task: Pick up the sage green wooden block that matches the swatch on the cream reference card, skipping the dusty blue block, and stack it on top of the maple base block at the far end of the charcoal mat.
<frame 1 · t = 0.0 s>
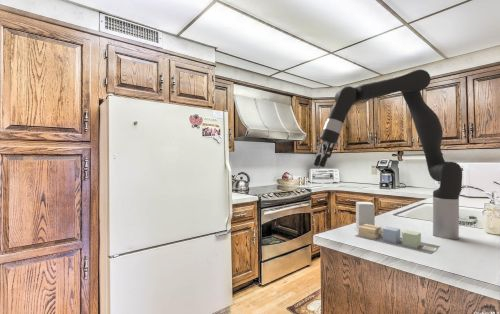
hand: (318, 166, 115), 31 cm above the counter, tool tilted 20°, fingers open, 8 cm apart
supplement box: (364, 228, 131), on the counter
mat: (394, 241, 111), on the counter
reference card: (429, 249, 101), resting on mat
sage block: (411, 245, 105), resting on mat
blue block: (391, 240, 111), resting on mat
maple base: (369, 235, 118), resting on mat
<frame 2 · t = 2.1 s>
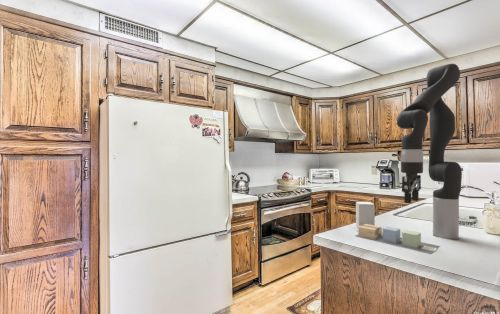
hand: (411, 201, 105), 18 cm above the counter, tool pointing down, fingers open, 8 cm apart
nothing on the counter moved.
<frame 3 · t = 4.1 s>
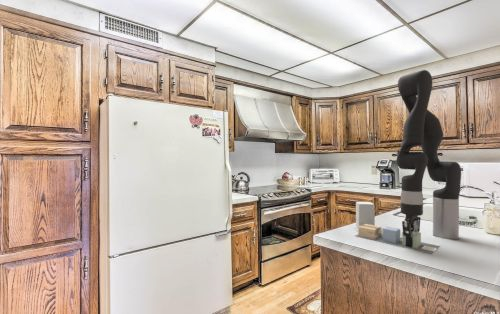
hand: (411, 244, 105), 1 cm above the counter, tool pointing down, fingers closed on sage block, 5 cm apart
sage block: (411, 245, 105), resting on mat, touching gripper
everything else where it was.
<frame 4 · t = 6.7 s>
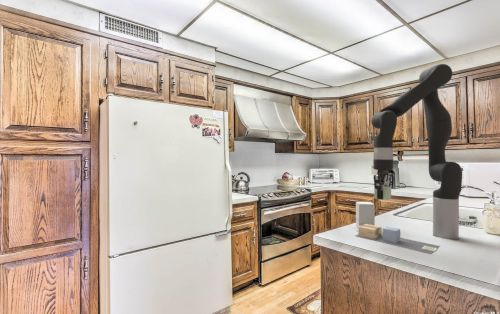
hand: (382, 198, 113), 18 cm above the counter, tool pointing down, fingers closed on sage block, 5 cm apart
sage block: (382, 198, 113), point 18 cm above the counter, touching gripper
everything else where it was.
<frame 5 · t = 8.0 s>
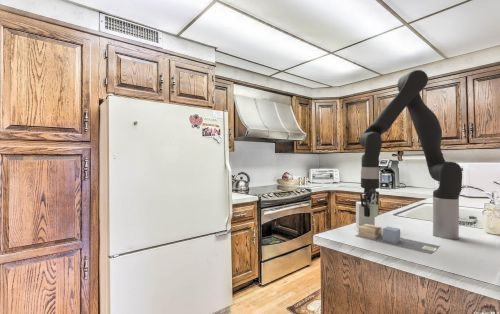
hand: (369, 215, 118), 9 cm above the counter, tool pointing down, fingers closed on sage block, 5 cm apart
sage block: (369, 215, 118), point 9 cm above the counter, touching gripper
everything else where it was.
when the fingers open (6 cm above the counter, at t = 9.2 s): sage block drops 1 cm, resting on maple base.
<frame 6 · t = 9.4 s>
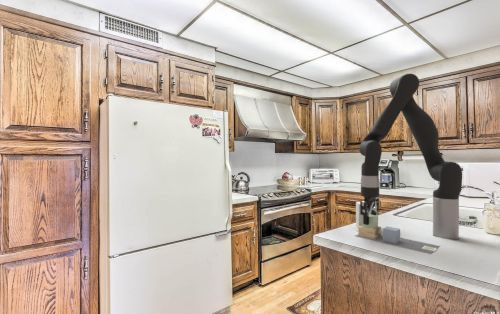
hand: (369, 223, 118), 6 cm above the counter, tool pointing down, fingers open, 6 cm apart
sage block: (369, 226, 118), point 4 cm above the counter, touching maple base
maple base: (369, 235, 118), resting on mat, touching sage block
everything else where it was.
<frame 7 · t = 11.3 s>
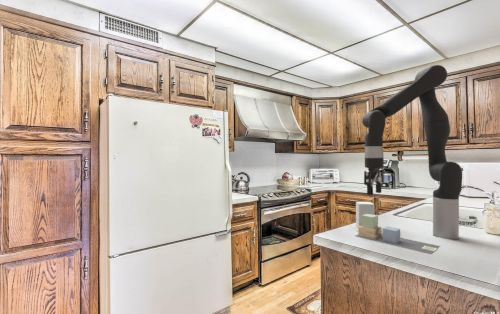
hand: (374, 193, 116), 19 cm above the counter, tool pointing down, fingers open, 8 cm apart
nothing on the counter moved.
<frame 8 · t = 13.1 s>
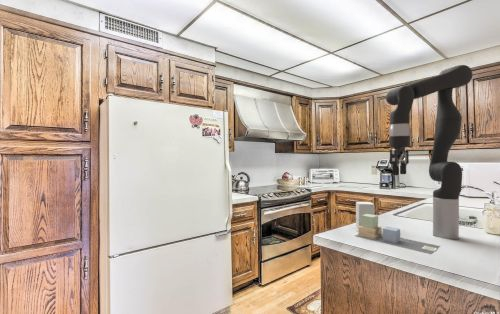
hand: (399, 174, 110), 28 cm above the counter, tool pointing down, fingers open, 8 cm apart
nothing on the counter moved.
at the end: sage block 0.0 cm off-centre on the maple base, point 4.0 cm above the maple base's base; sage block tilted 0°; the gripper is holding nothing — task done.
